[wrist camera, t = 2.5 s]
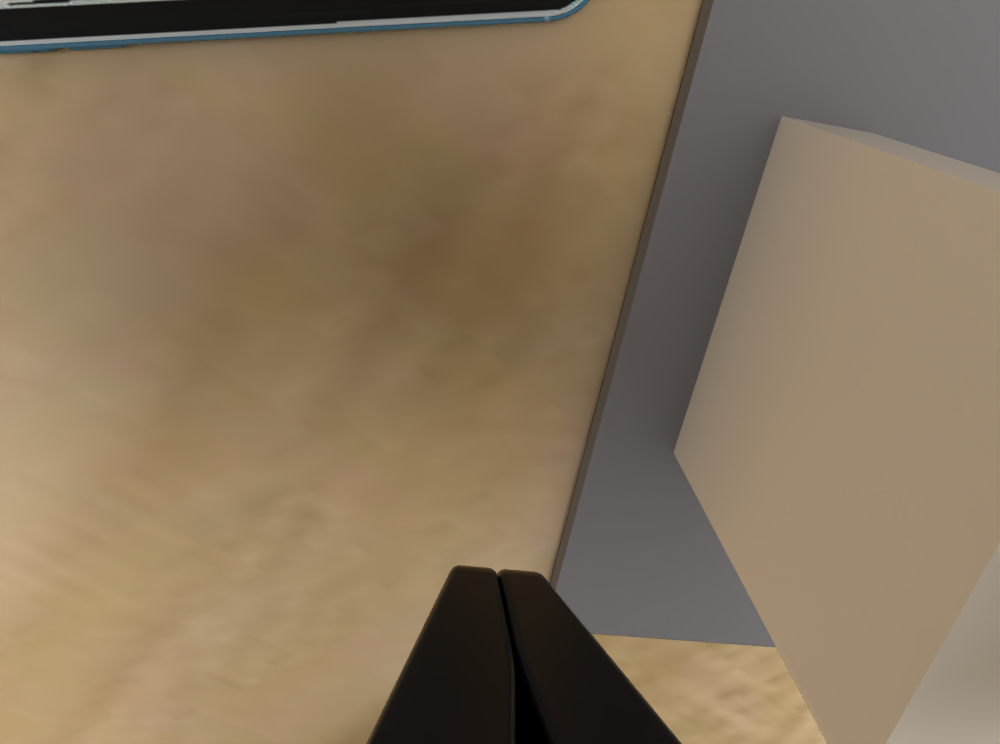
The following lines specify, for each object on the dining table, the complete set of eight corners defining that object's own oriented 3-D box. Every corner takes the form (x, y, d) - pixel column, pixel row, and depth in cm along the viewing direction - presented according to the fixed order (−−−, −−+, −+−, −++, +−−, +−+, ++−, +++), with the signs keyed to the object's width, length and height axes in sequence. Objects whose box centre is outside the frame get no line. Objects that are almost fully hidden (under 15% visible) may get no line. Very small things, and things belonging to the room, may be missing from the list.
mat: (1096, 657, 24) (1111, 672, 24) (541, 614, 22) (544, 630, 21) (1586, -55, 16) (1626, -56, 15) (774, -272, 13) (789, -283, 13)
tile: (755, 462, 19) (991, 802, 11) (673, 452, 19) (855, 796, 11) (879, 134, 16) (1348, 282, 8) (781, 116, 15) (1165, 251, 7)
